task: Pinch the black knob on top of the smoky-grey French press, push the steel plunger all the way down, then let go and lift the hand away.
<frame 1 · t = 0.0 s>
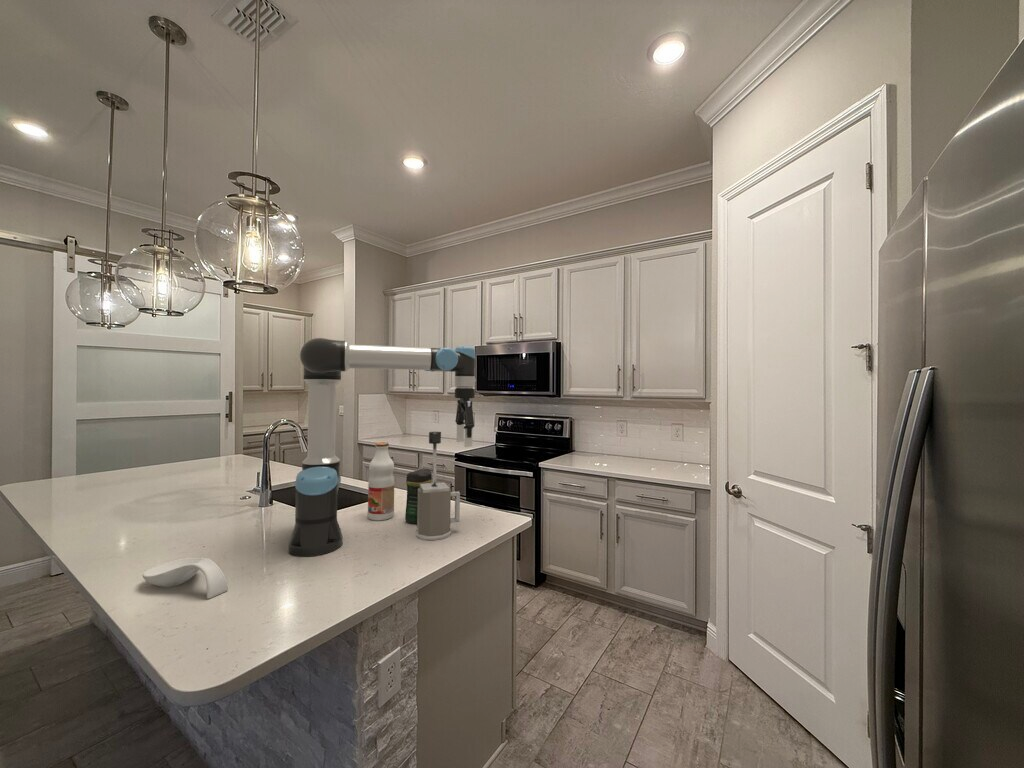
hand: (464, 444, 157), 28 cm above the countertop, fingers open, 13 cm apart
plunger: (434, 462, 140), point 24 cm above the countertop, slide at 0.0 cm
fruit juice: (380, 517, 158), on the countertop
spoon rest: (188, 586, 103), on the countertop
coffee jar: (418, 520, 154), on the countertop
press: (433, 534, 140), on the countertop
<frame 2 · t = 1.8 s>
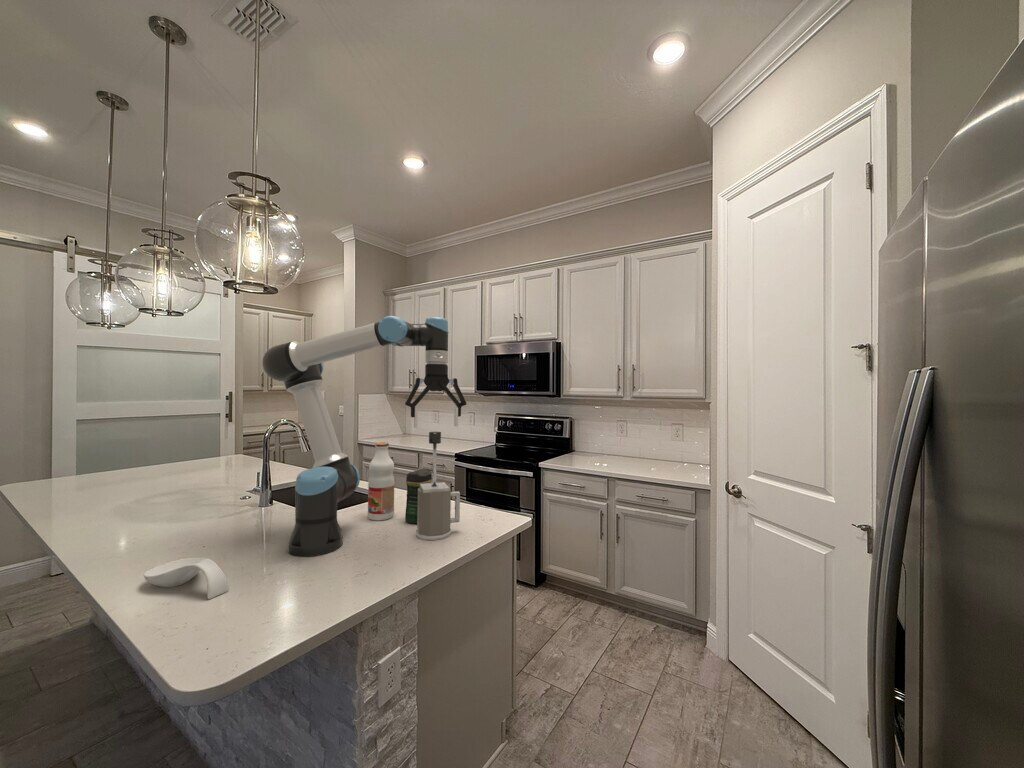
hand: (436, 426, 140), 36 cm above the countertop, fingers open, 13 cm apart
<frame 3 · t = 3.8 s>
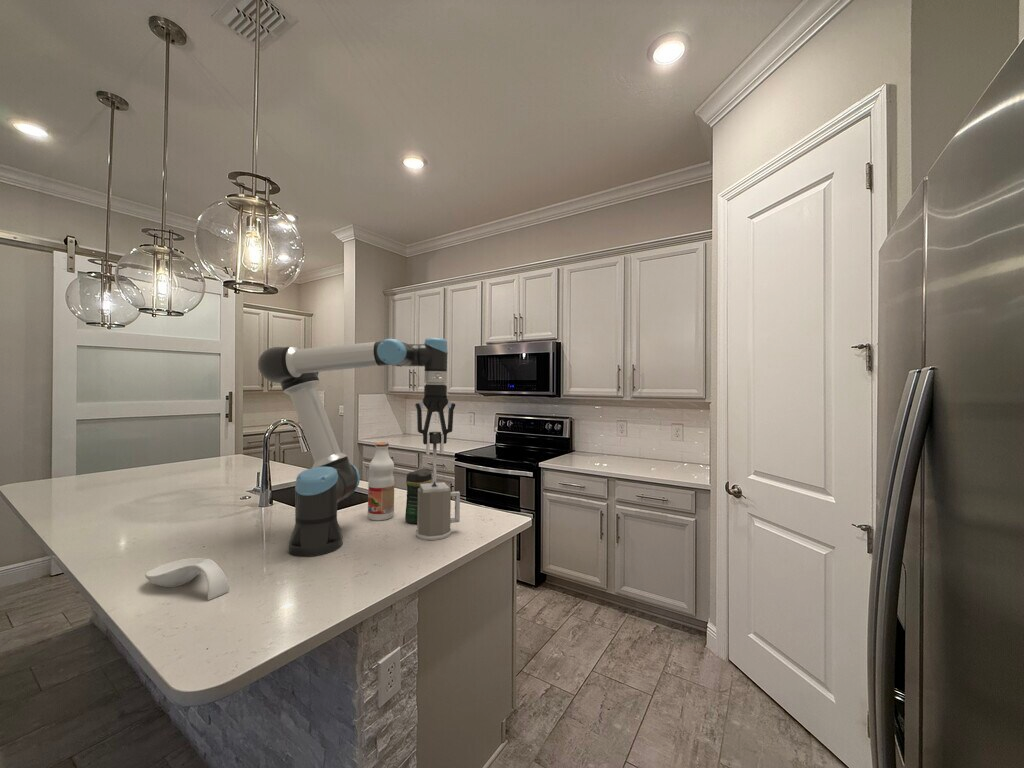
hand: (434, 453, 140), 27 cm above the countertop, fingers closed on plunger, 4 cm apart
plunger: (434, 462, 140), point 24 cm above the countertop, slide at 0.0 cm, touching gripper
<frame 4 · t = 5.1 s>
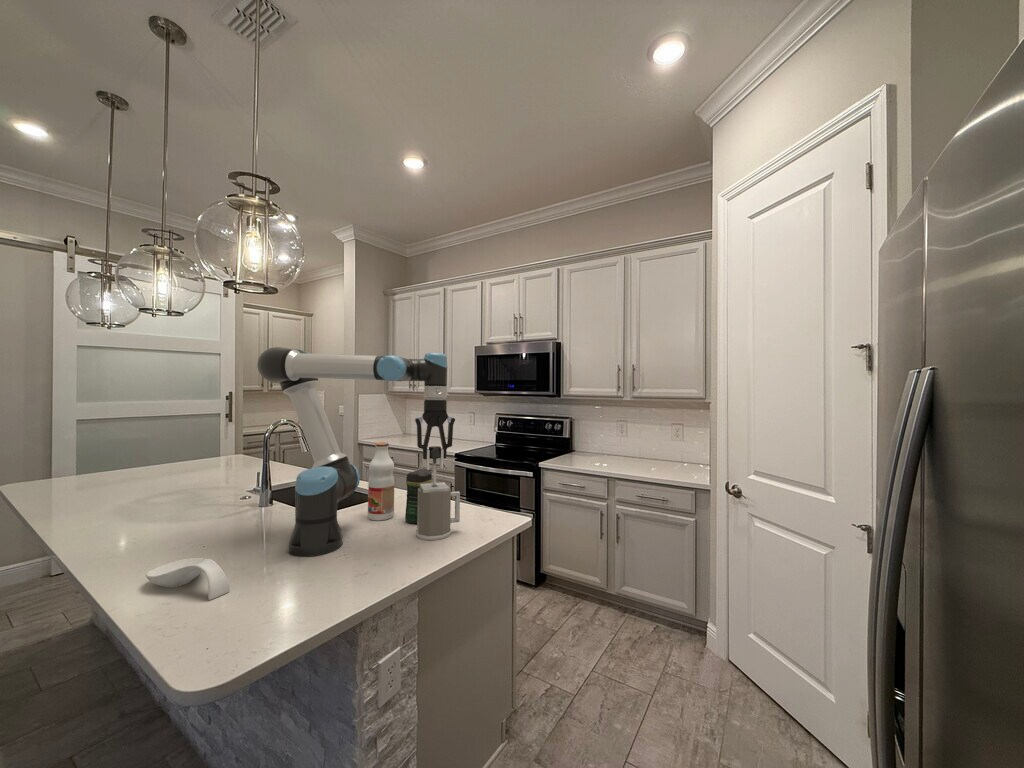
hand: (434, 468, 140), 22 cm above the countertop, fingers closed on plunger, 4 cm apart
plunger: (434, 476, 140), point 19 cm above the countertop, slide at 5.0 cm, touching gripper
everything else where it was.
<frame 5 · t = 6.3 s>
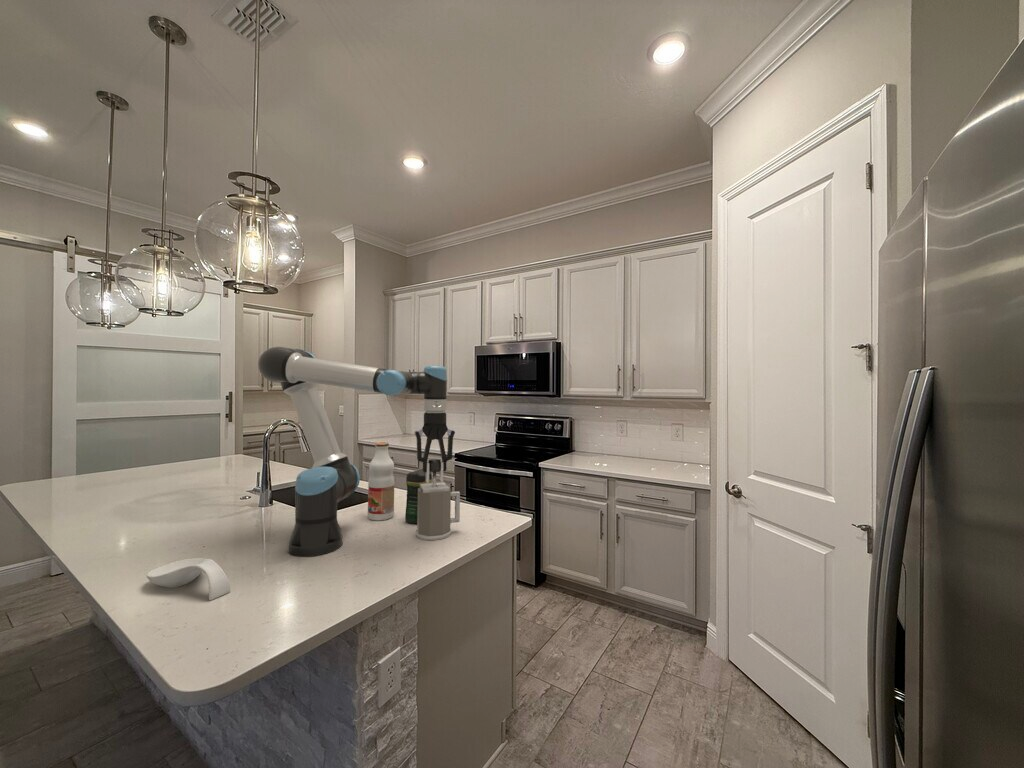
hand: (434, 481, 140), 18 cm above the countertop, fingers closed on plunger, 4 cm apart
plunger: (434, 489, 140), point 15 cm above the countertop, slide at 9.3 cm, touching gripper
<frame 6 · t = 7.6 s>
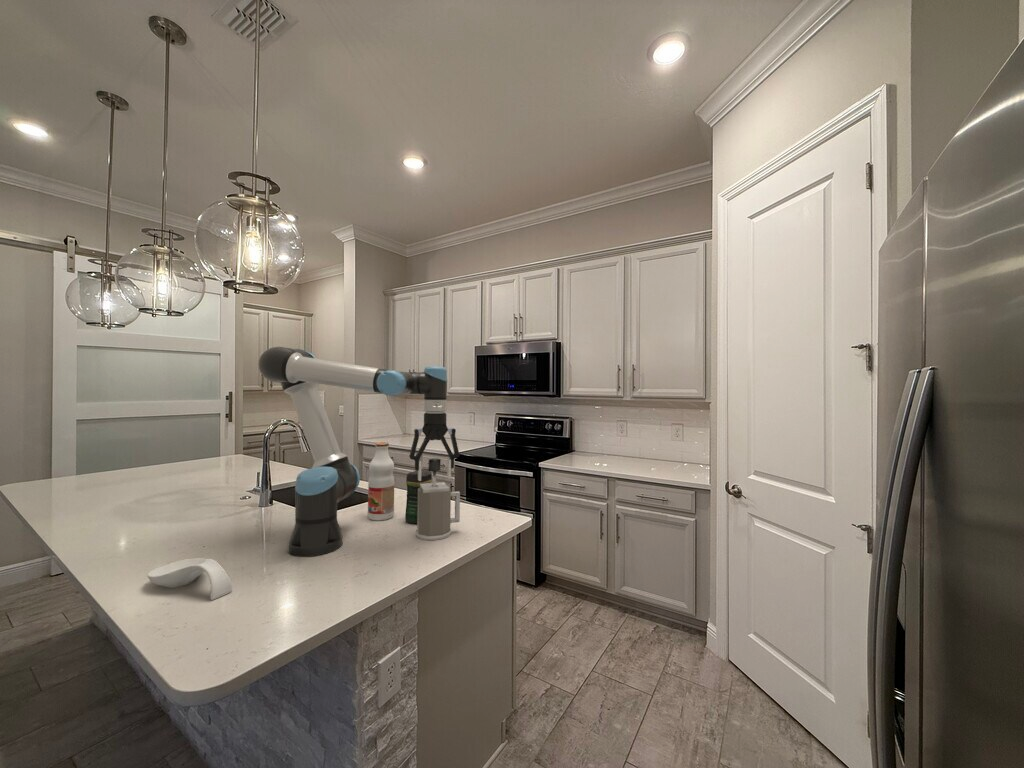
hand: (434, 479, 140), 19 cm above the countertop, fingers open, 9 cm apart
plunger: (434, 489, 140), point 15 cm above the countertop, slide at 9.1 cm
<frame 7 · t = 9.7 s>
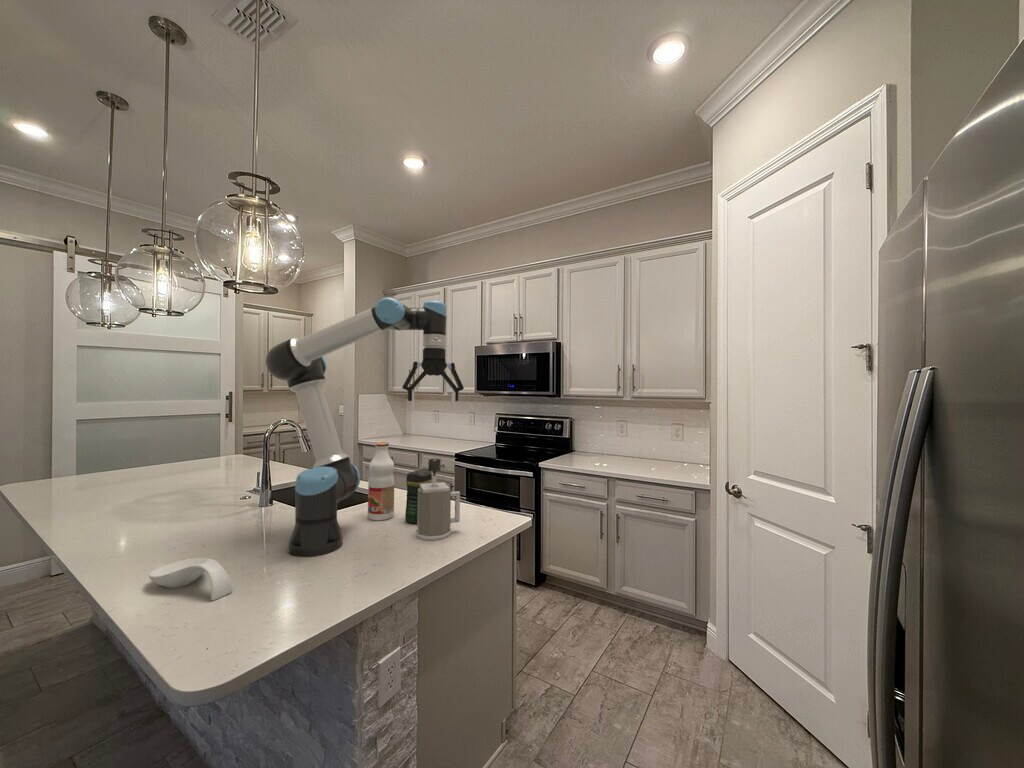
hand: (433, 411, 140), 41 cm above the countertop, fingers open, 13 cm apart
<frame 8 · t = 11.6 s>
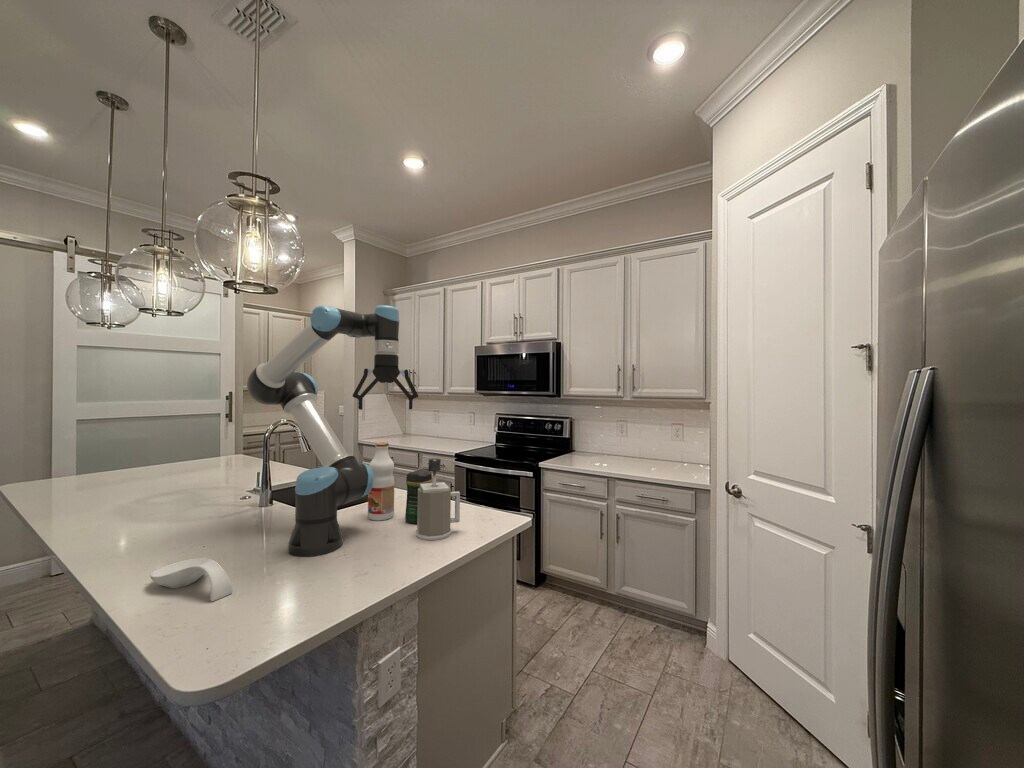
hand: (385, 419, 135), 39 cm above the countertop, fingers open, 13 cm apart
at the end: plunger slide at 9.1 cm; the gripper is holding nothing; coffee jar moved 0.2 cm from its start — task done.
